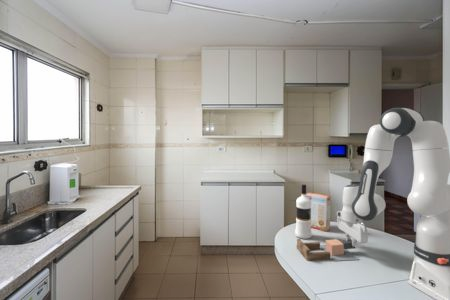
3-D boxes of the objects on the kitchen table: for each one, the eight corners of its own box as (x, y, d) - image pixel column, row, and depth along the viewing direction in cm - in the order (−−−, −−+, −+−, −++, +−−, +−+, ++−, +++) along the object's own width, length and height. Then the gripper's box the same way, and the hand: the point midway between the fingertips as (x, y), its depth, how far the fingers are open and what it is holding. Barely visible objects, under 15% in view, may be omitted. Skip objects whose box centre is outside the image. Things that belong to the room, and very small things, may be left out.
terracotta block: (357, 252, 123) (357, 242, 122) (332, 255, 122) (331, 245, 121) (350, 247, 129) (350, 237, 128) (325, 249, 127) (325, 240, 127)
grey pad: (359, 259, 118) (359, 259, 118) (334, 261, 117) (334, 260, 117) (340, 244, 134) (340, 244, 134) (318, 245, 133) (318, 245, 133)
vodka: (293, 232, 150) (294, 182, 149) (310, 233, 149) (310, 183, 147) (296, 239, 141) (296, 186, 139) (313, 240, 140) (314, 186, 138)
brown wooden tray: (330, 259, 119) (330, 248, 118) (306, 260, 118) (306, 250, 117) (318, 247, 131) (318, 238, 130) (297, 248, 129) (297, 239, 129)
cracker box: (330, 229, 156) (331, 195, 154) (326, 232, 151) (326, 197, 150) (309, 223, 166) (309, 192, 164) (304, 225, 161) (305, 193, 160)
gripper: (372, 224, 115) (371, 253, 115) (346, 210, 135) (345, 235, 136) (359, 224, 114) (358, 254, 115) (335, 210, 134) (334, 236, 135)
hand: (351, 244), depth 125 cm, fingers closed on terracotta block, 2 cm apart
